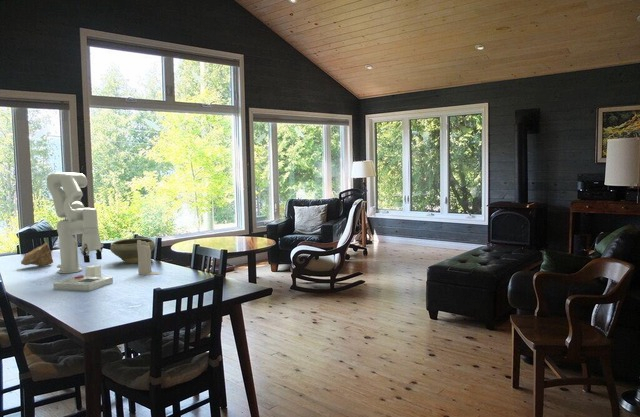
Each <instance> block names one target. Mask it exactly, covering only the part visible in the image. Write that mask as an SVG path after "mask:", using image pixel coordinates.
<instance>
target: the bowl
mask: <svg viewBox="0 0 640 417" xmlns="http://www.w3.org/2000/svg"><path fill="white" fill-rule="evenodd" d="M137 240H141V241H146V243H149V245H150V250H151V252H153V250H154V249H155V248H156V243H155V241H154V240H153V239H151V238H148V237H147V238H146V237H137V238H136V237H135V238H123V239H117V240H114V241H113V242H110V247H109V248H110V252H111V253H112V254H114V255H115V256H116V257H117V258H119V259H121V260H122V261H123V262H124V263H127V264H136V263H137V264H138V251H137Z"/></svg>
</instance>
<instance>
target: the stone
mask: <svg viewBox="0 0 640 417" xmlns="http://www.w3.org/2000/svg"><path fill="white" fill-rule="evenodd" d="M23 256H24V257H23V258H22V260H21V261H20V264H21V265H24V266H30V265H33V266H34V265H35V266H37V267H43V266H44V267H45V266H49V265H52V264H54V259H53V255H52V250H51V249H50V247H49V243H47V242H44V243H43V244H41V245H40V246H37V247H35V248H33V249H32V250H31V251H29V252H27V253H25V254H24V255H23Z"/></svg>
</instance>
